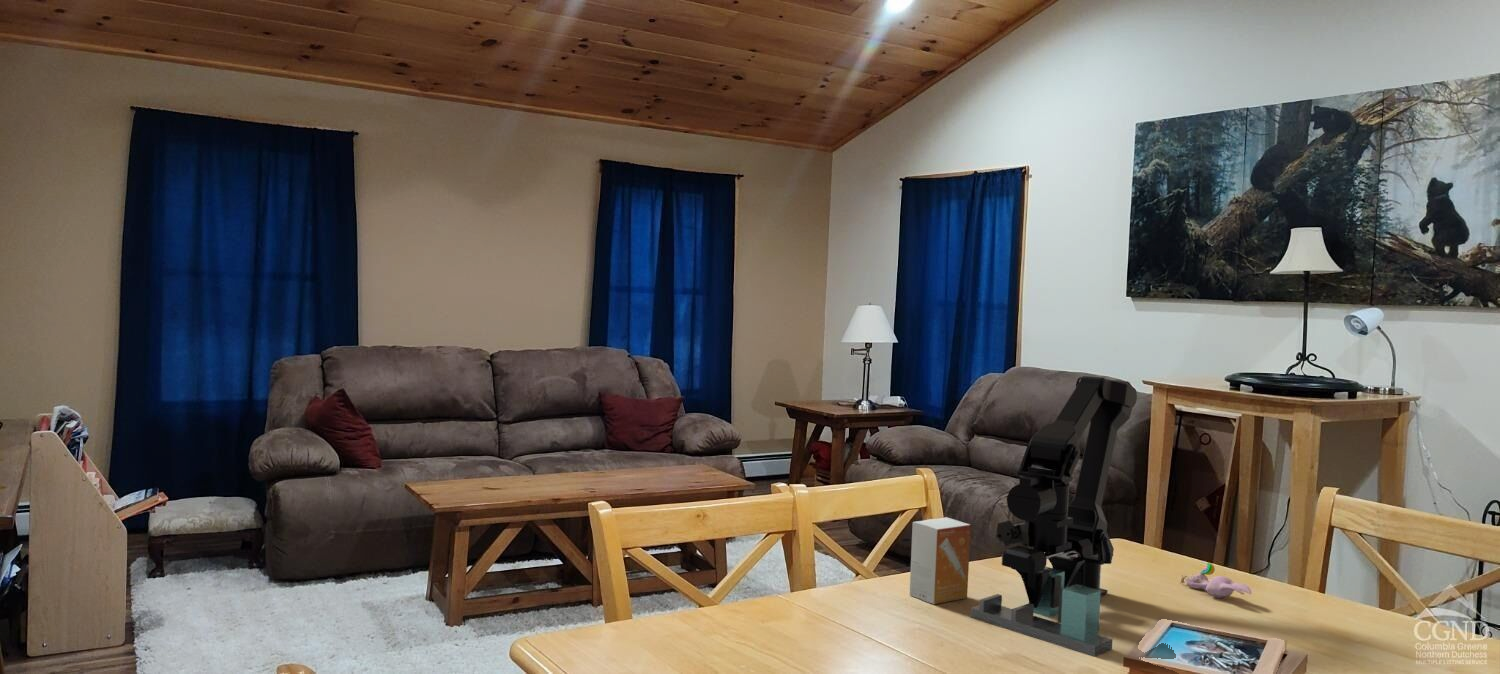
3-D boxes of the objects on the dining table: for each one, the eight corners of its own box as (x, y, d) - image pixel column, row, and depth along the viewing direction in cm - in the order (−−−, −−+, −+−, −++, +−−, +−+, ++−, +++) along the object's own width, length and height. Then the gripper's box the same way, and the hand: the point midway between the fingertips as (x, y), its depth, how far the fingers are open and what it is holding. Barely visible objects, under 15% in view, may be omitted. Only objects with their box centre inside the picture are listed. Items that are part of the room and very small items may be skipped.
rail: (988, 611, 169) (990, 560, 169) (1112, 649, 153) (1114, 593, 153) (970, 617, 166) (972, 565, 166) (1094, 656, 150) (1097, 599, 149)
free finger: (1041, 606, 173) (1043, 565, 172) (1066, 613, 169) (1067, 572, 169) (1028, 611, 170) (1030, 569, 170) (1052, 618, 167) (1054, 576, 166)
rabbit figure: (1173, 593, 188) (1232, 604, 173) (1171, 560, 188) (1230, 569, 174) (1202, 591, 190) (1263, 602, 175) (1200, 558, 190) (1260, 567, 176)
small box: (934, 605, 172) (937, 529, 171) (908, 595, 177) (911, 521, 176) (968, 598, 176) (971, 524, 175) (942, 588, 181) (945, 516, 181)
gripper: (1038, 495, 181) (1034, 582, 182) (976, 508, 169) (972, 601, 170) (1096, 507, 173) (1092, 597, 174) (1034, 521, 160) (1030, 619, 161)
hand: (1045, 603), depth 170 cm, fingers open, 7 cm apart
